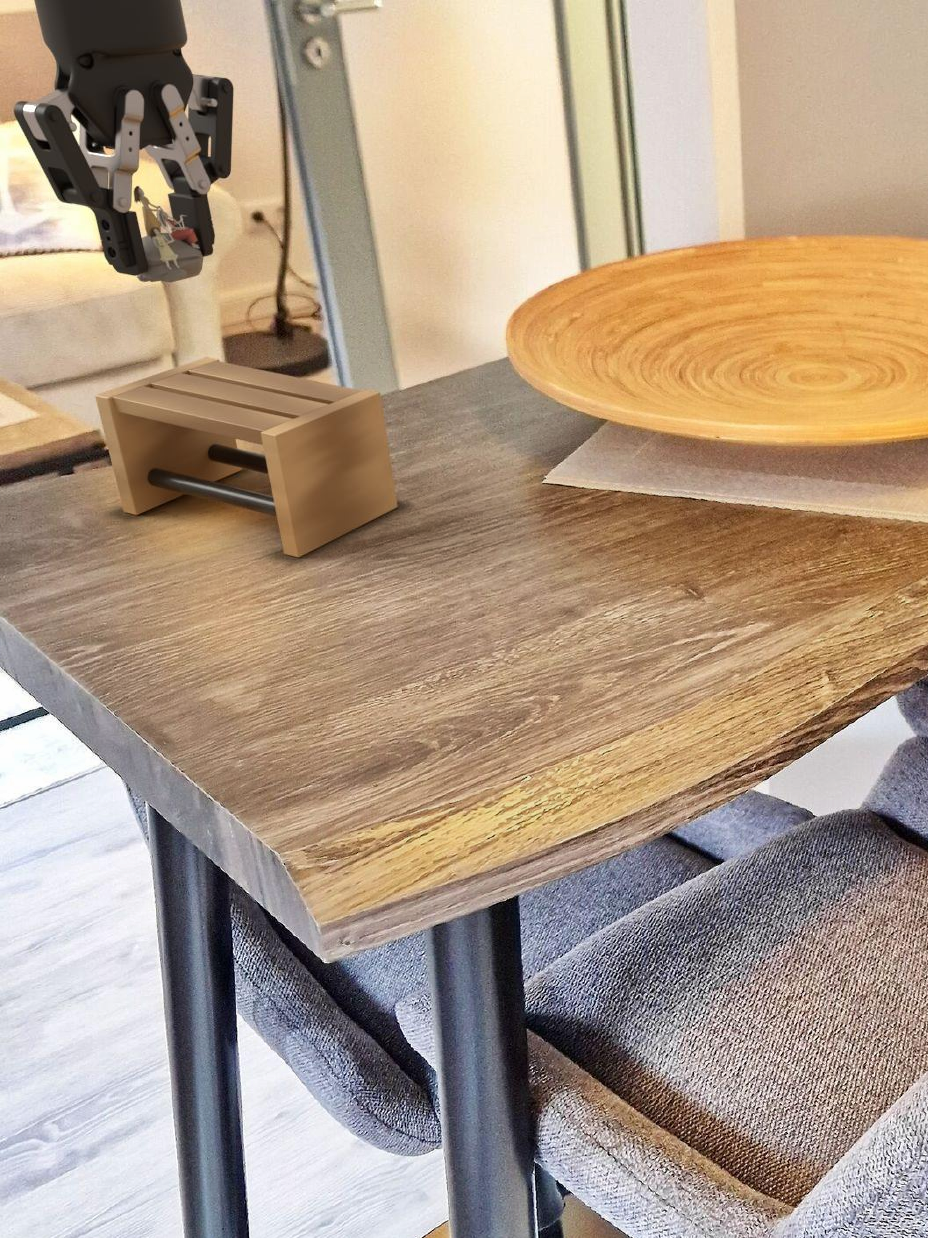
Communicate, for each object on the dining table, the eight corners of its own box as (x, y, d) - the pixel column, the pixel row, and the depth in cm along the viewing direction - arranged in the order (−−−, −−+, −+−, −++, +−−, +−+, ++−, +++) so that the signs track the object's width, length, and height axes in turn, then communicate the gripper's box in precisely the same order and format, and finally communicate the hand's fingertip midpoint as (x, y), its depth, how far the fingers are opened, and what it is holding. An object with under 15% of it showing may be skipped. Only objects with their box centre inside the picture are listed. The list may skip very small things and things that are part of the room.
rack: (298, 557, 93) (275, 435, 89) (123, 512, 98) (94, 395, 94) (397, 507, 100) (380, 392, 96) (229, 467, 105) (206, 356, 101)
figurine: (121, 279, 94) (99, 180, 91) (195, 269, 96) (176, 173, 93) (142, 299, 90) (119, 196, 87) (219, 288, 92) (199, 189, 89)
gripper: (154, -52, 91) (210, 233, 99) (-64, -38, 80) (20, 282, 88) (247, -44, 88) (296, 248, 97) (35, -30, 77) (112, 300, 85)
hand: (164, 262), depth 92 cm, fingers closed on figurine, 4 cm apart
